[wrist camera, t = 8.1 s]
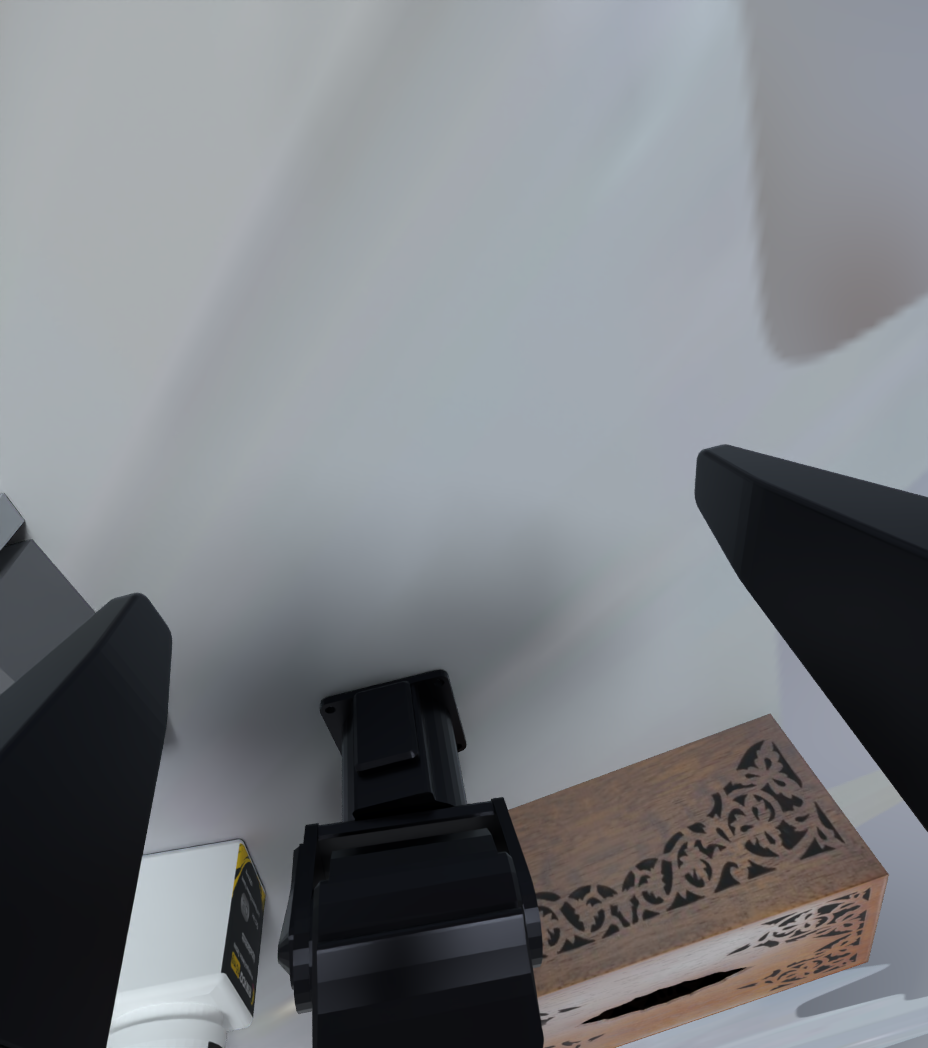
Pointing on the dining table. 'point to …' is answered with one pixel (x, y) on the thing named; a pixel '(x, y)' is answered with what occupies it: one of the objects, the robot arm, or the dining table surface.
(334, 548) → the dining table surface
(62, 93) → the dining table surface
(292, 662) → the dining table surface
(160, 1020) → the medicine bottle
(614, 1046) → the tissue box cover
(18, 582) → the gray cuboid pillar
